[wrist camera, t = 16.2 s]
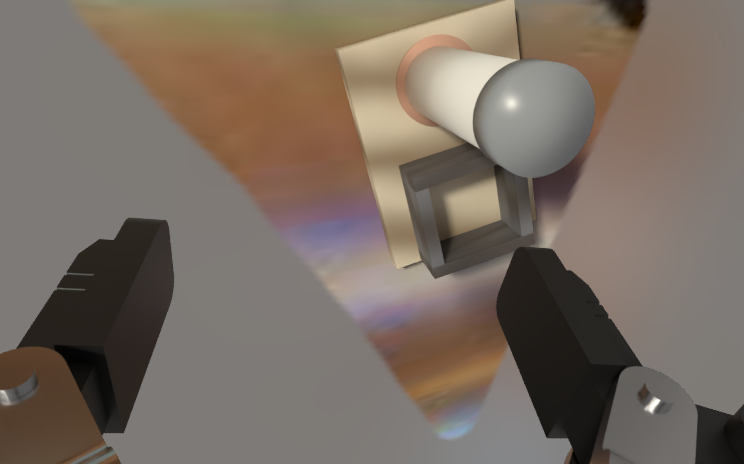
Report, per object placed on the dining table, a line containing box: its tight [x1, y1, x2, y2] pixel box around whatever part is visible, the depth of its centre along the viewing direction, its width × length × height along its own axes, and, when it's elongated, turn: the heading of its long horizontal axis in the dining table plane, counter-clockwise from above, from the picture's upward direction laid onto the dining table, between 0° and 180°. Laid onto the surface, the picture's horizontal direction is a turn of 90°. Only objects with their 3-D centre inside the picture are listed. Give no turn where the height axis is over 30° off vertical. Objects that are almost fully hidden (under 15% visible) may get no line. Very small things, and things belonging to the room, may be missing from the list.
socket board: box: [335, 0, 536, 279], centre depth 37 cm, size 18×13×5 cm
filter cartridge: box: [405, 46, 595, 178], centre depth 29 cm, size 5×5×14 cm
